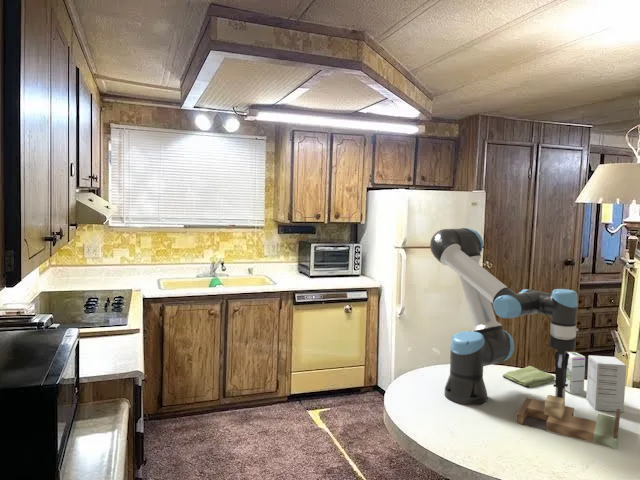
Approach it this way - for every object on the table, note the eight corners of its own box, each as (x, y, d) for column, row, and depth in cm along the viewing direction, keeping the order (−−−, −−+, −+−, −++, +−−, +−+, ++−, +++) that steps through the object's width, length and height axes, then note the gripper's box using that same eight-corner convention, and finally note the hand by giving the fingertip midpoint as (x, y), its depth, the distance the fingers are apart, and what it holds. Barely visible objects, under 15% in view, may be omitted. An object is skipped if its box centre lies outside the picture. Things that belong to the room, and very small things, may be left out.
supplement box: (624, 413, 162) (627, 365, 160) (595, 410, 163) (597, 363, 162) (613, 401, 171) (615, 356, 169) (585, 399, 173) (587, 354, 171)
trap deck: (516, 422, 154) (516, 405, 153) (525, 405, 167) (526, 389, 166) (616, 448, 138) (618, 429, 137) (619, 427, 151) (620, 409, 151)
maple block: (544, 414, 153) (545, 399, 153) (547, 408, 157) (548, 394, 157) (561, 418, 150) (561, 403, 150) (564, 413, 154) (564, 398, 154)
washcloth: (500, 378, 194) (500, 370, 193) (530, 371, 201) (530, 364, 201) (527, 389, 182) (527, 381, 182) (557, 382, 190) (558, 374, 189)
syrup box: (584, 393, 178) (586, 356, 176) (570, 394, 177) (572, 357, 175) (574, 387, 183) (576, 351, 182) (560, 388, 182) (562, 352, 181)
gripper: (573, 343, 147) (570, 415, 149) (577, 333, 158) (574, 401, 160) (547, 339, 151) (544, 410, 153) (553, 330, 162) (550, 396, 164)
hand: (559, 405), depth 157 cm, fingers closed
